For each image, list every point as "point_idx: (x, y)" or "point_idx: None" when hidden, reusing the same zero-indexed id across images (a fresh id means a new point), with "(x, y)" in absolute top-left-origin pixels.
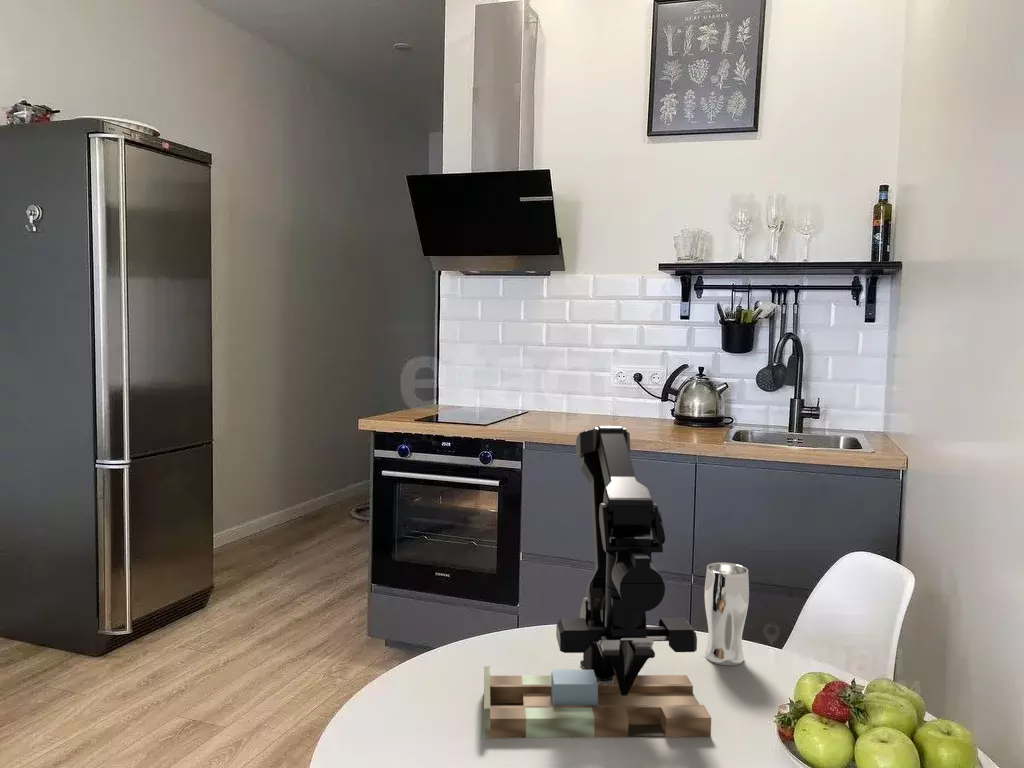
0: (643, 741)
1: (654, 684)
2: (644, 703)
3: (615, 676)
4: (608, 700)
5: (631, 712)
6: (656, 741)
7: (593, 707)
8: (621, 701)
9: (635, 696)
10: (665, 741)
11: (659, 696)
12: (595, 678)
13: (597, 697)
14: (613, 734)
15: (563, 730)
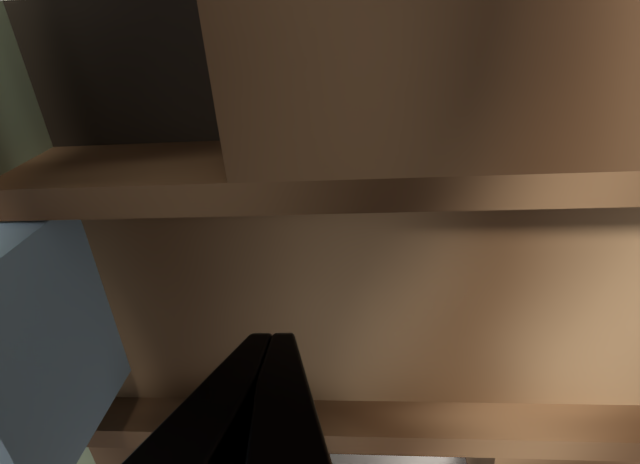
0: (356, 458)
1: (581, 179)
2: (419, 323)
3: (221, 13)
4: (189, 286)
5: None
6: (411, 460)
7: (98, 446)
8: (272, 300)
9: (378, 240)
10: (449, 461)
11: (563, 238)
12: (2, 450)
13: (97, 426)
14: None
15: None
